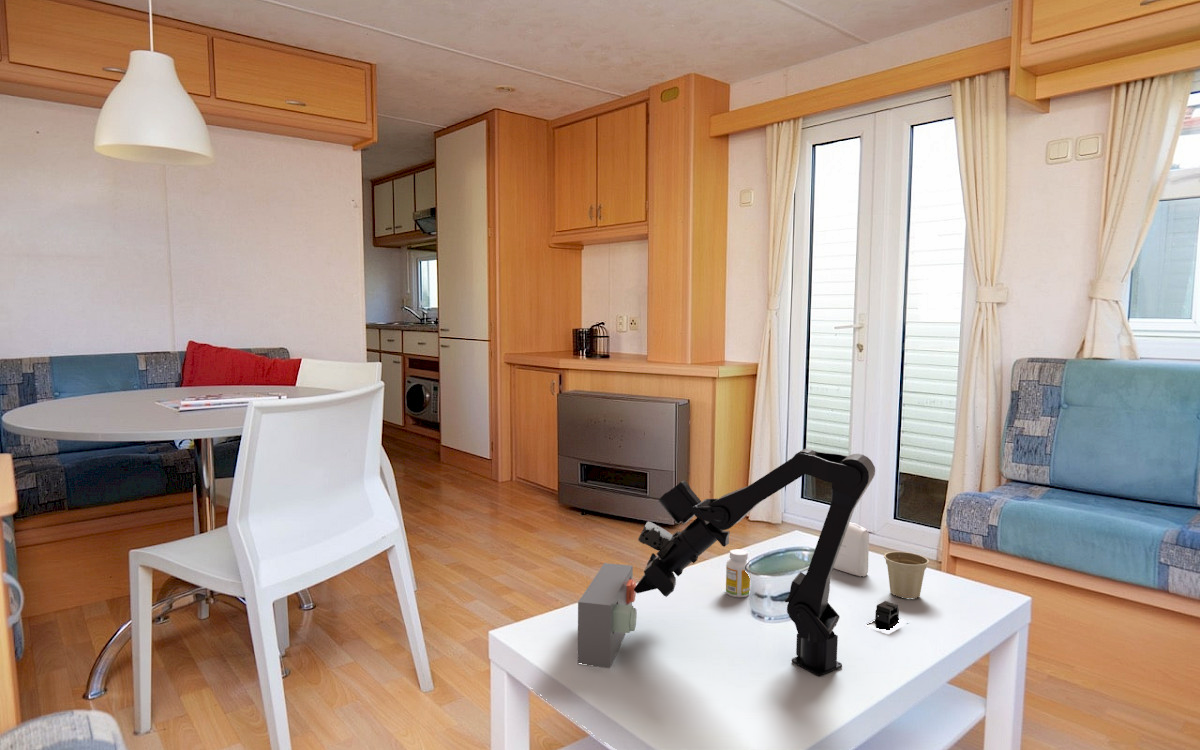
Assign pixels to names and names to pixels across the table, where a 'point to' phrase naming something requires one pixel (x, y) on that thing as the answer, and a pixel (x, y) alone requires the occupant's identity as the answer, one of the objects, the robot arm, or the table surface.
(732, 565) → the supplement bottle
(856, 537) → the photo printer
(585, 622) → the control box
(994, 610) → the table surface
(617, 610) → the button green
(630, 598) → the button red
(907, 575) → the flower pot
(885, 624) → the black grooved cube
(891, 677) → the table surface
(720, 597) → the table surface
